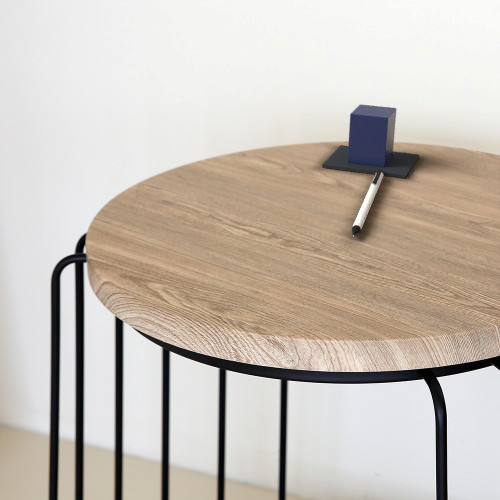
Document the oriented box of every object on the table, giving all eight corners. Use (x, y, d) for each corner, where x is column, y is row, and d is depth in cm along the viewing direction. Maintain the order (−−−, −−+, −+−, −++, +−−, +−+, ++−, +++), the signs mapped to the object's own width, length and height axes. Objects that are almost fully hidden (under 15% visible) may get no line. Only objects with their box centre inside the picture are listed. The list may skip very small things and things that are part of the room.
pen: (384, 174, 92) (385, 165, 92) (357, 241, 76) (358, 230, 75) (377, 174, 93) (377, 164, 92) (348, 240, 76) (349, 229, 76)
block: (392, 155, 98) (396, 107, 95) (384, 167, 94) (388, 117, 91) (356, 151, 99) (359, 104, 96) (347, 162, 95) (350, 113, 93)
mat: (419, 157, 98) (419, 154, 98) (405, 178, 92) (405, 175, 91) (340, 148, 102) (340, 144, 101) (322, 167, 95) (322, 164, 95)
